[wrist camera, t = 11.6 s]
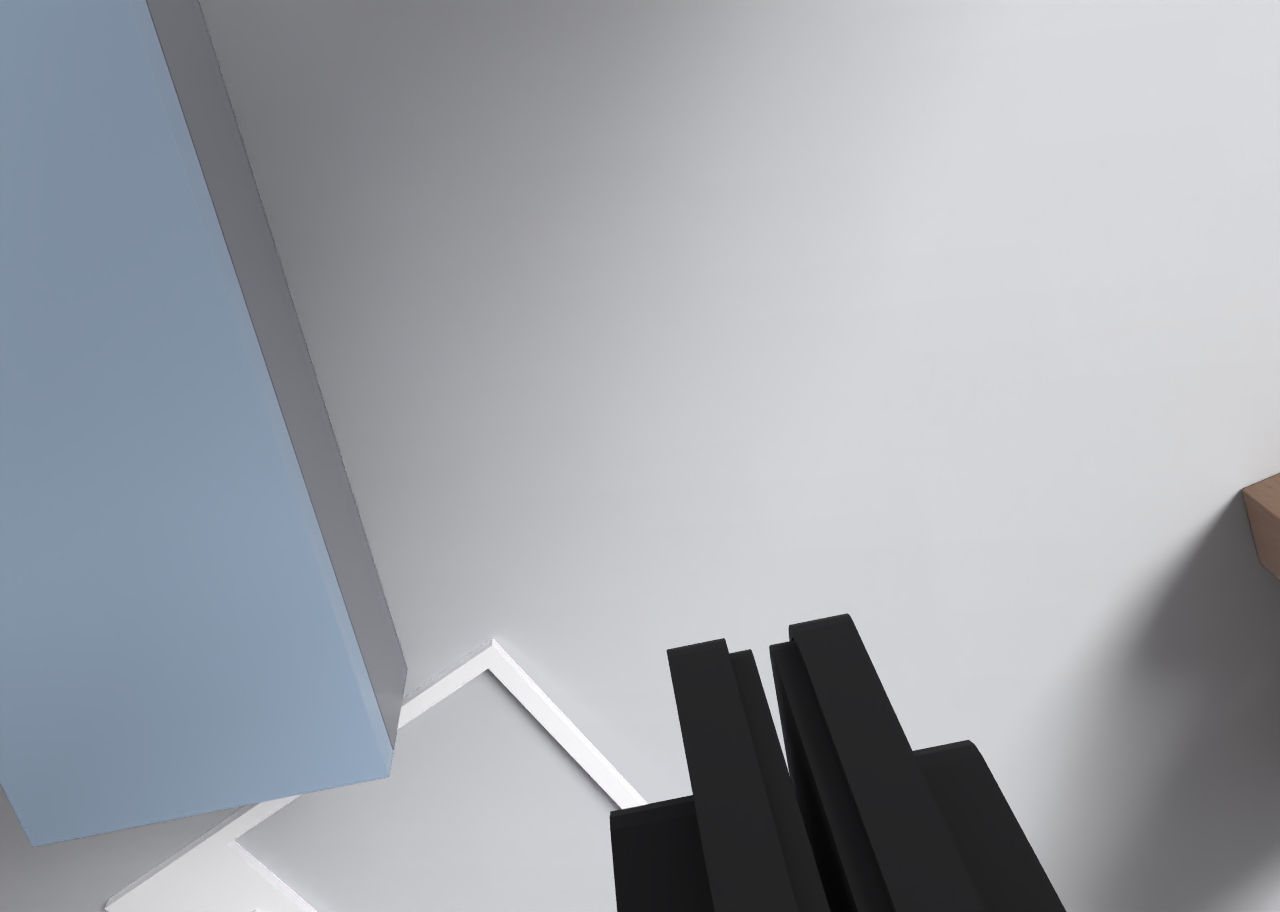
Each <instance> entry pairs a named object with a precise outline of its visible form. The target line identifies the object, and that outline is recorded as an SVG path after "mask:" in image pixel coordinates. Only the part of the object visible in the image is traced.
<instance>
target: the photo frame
mask: <svg viewBox="0 0 1280 912" xmlns="http://www.w3.org/2000/svg"><path fill="white" fill-rule="evenodd" d="M487 669H489V670H490V671H491V672H492V673H493V674H494V675H495V676H496V677H497V678H498V679H499V680H500V681H501V682H502V683H503V684H504V685H505V686H506V688H507V689H508V690H509V691H510V692H511V693H512V694H513V695H514V696H515V697H516V698H517V699H518V700H519V701H520V702H521V703H522V704H523V705H524V706H525V708H526V709H527V710H528V711H529V712H530V713H531V714H532V715H533V716H534V717H535V718H536V719H537V720H538V721H539V722H540V723H541V724H542V725H543V726H544V728H545V729H546V730H547V731H548V732H549V733H550V734H551V735H552V736H553V737H554V738H555V739H556V740H557V741H558V742H559V743H560V744H561V745H562V746H563V747H564V749H565V750H566V751H567V752H568V753H569V754H570V755H571V756H572V757H573V758H574V759H575V760H576V761H577V762H578V763H579V764H580V765H581V766H582V767H583V769H584V770H585V771H586V772H587V773H588V774H589V775H590V776H591V777H592V778H593V779H594V780H595V781H596V782H597V783H598V784H599V785H600V786H601V787H602V789H603V790H604V791H605V792H606V793H607V794H608V795H609V796H610V797H611V798H612V799H613V800H614V801H615V802H616V803H617V804H618V805H619V806H620V807H621V809H626V808H631V807H636V806H641V805H646V804H648V803H647V802H646V801H645V800H644V799H643V798H642V797H641V796H640V795H639V794H638V793H637V792H636V791H635V789H634V788H633V787H632V786H631V785H630V784H629V783H628V782H627V781H626V780H625V779H624V778H623V777H622V776H621V775H620V773H619V772H618V771H617V770H616V769H615V768H614V767H613V766H612V765H611V764H610V763H609V762H608V761H607V760H606V759H605V757H604V756H603V755H602V754H601V753H600V752H599V751H598V750H597V749H596V748H595V747H594V746H593V745H592V744H591V743H590V741H589V740H588V739H587V738H586V737H585V736H584V735H583V734H582V733H581V732H580V731H579V730H578V729H577V728H576V727H575V725H574V724H573V723H572V722H571V721H570V720H569V719H568V718H567V717H566V716H565V715H564V714H563V713H562V712H561V711H560V709H559V708H558V707H557V706H556V705H555V704H554V703H553V702H552V701H551V700H550V699H549V698H548V697H547V696H546V695H545V693H544V692H543V691H542V690H541V689H540V688H539V687H538V686H537V685H536V684H535V683H534V682H533V681H532V680H531V679H530V677H529V676H528V675H527V674H526V673H525V672H524V671H523V670H522V669H521V668H520V667H519V666H518V665H517V664H516V663H515V661H514V660H513V659H512V658H511V657H510V656H509V655H508V654H507V653H506V652H505V651H504V650H503V649H502V648H501V647H500V645H499V644H498V643H497V642H496V641H495V640H494V639H493V638H492V639H490V640H489V641H487V642H486V643H484V644H483V645H481V646H480V647H478V648H477V649H475V650H474V651H472V652H471V653H469V654H468V655H467V656H465V657H464V658H462V659H461V660H459V661H458V662H456V663H455V664H453V665H452V666H450V667H449V668H447V669H446V670H444V671H443V672H441V673H440V674H439V675H437V676H436V677H434V678H433V679H431V680H430V681H428V682H427V683H425V684H424V685H422V686H421V687H419V688H418V689H416V690H415V691H414V692H412V693H411V694H409V695H408V696H406V697H405V698H403V699H402V705H401V711H400V717H399V722H398V728H397V730H398V729H399V728H401V727H402V726H404V725H405V724H407V723H408V722H410V721H411V720H413V719H414V718H416V717H417V716H419V715H420V714H422V713H423V712H424V711H426V710H427V709H429V708H430V707H432V706H433V705H435V704H436V703H438V702H439V701H441V700H442V699H444V698H445V697H447V696H448V695H450V694H451V693H453V692H454V691H456V690H457V689H459V688H460V687H461V686H463V685H464V684H466V683H467V682H469V681H470V680H472V679H473V678H475V677H476V676H478V675H479V674H481V673H482V672H484V671H485V670H487ZM300 795H302V794H300ZM300 795H295V796H290V797H285V798H280V799H275V800H270V801H265V802H260V803H255V804H250V805H246V806H244V807H243V808H241V809H240V810H238V811H237V812H235V813H234V814H232V815H231V816H230V817H228V818H227V819H225V820H224V821H222V822H221V823H219V824H218V825H216V826H215V827H213V828H212V829H210V830H209V831H207V832H206V833H204V834H203V835H202V836H200V837H199V838H197V839H196V840H194V841H193V842H191V843H190V844H188V845H187V846H185V847H184V848H182V849H181V850H179V851H178V852H177V853H175V854H174V855H172V856H171V857H169V858H168V859H166V860H165V861H163V862H162V863H160V864H159V865H157V866H156V867H154V868H153V869H152V870H150V871H149V872H147V873H146V874H144V875H143V876H141V877H140V878H138V879H137V880H135V881H134V882H132V883H131V884H129V885H128V886H126V887H125V888H124V889H122V890H121V891H119V892H118V893H116V894H115V895H113V896H112V897H110V898H109V900H108V902H107V904H106V907H105V909H106V910H107V911H108V912H317V911H316V910H315V909H314V908H313V907H311V906H310V905H309V904H308V903H307V902H306V901H304V900H303V899H302V898H301V897H300V896H299V895H297V894H296V893H295V892H294V891H293V890H292V889H290V888H289V887H288V886H287V885H286V884H285V883H283V882H282V881H281V880H280V879H279V878H278V877H277V876H275V875H274V874H273V873H272V872H271V871H270V870H268V869H267V868H266V867H265V866H264V865H263V864H261V863H260V862H259V861H258V860H257V859H256V858H254V857H253V856H252V855H251V854H250V853H249V852H247V851H246V850H245V849H244V848H243V847H242V846H241V845H239V844H238V843H237V842H236V841H235V839H237V838H238V837H240V836H241V835H242V834H244V833H245V832H247V831H248V830H250V829H251V828H253V827H254V826H256V825H257V824H259V823H260V822H262V821H263V820H265V819H266V818H268V817H269V816H271V815H272V814H274V813H275V812H277V811H278V810H279V809H281V808H282V807H284V806H285V805H287V804H288V803H290V802H291V801H293V800H294V799H296V798H297V797H299V796H300Z"/></svg>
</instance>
